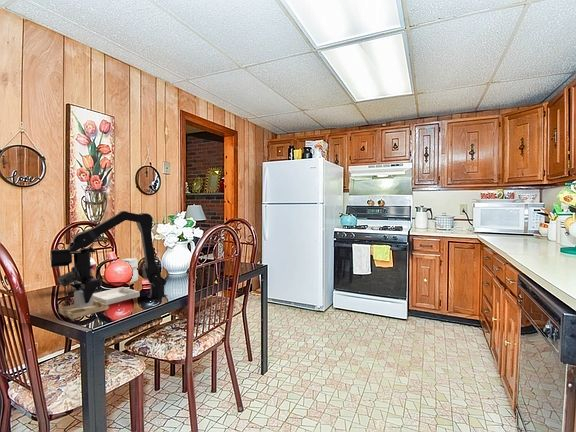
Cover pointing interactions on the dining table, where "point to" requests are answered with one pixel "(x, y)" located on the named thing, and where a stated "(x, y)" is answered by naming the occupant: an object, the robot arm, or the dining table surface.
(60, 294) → the dining table surface
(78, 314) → the oak tray
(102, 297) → the bin
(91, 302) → the stone block
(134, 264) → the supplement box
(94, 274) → the smoothie
